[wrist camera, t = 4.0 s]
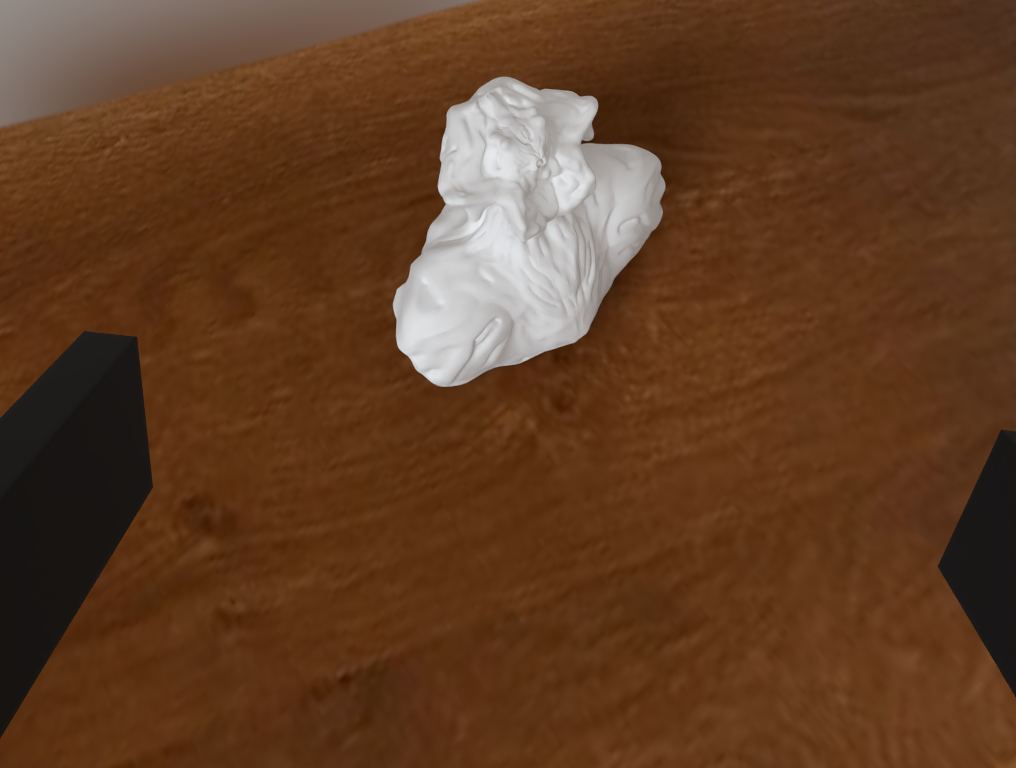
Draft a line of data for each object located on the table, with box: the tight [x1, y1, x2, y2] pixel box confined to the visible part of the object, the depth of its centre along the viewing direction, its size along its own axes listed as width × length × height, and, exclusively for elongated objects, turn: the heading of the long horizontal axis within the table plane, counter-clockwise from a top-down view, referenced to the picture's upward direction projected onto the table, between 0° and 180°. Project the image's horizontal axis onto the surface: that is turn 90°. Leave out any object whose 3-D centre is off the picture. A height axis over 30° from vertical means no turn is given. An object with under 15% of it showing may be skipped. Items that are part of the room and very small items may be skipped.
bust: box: [393, 77, 665, 387], centre depth 31 cm, size 12×8×11 cm
